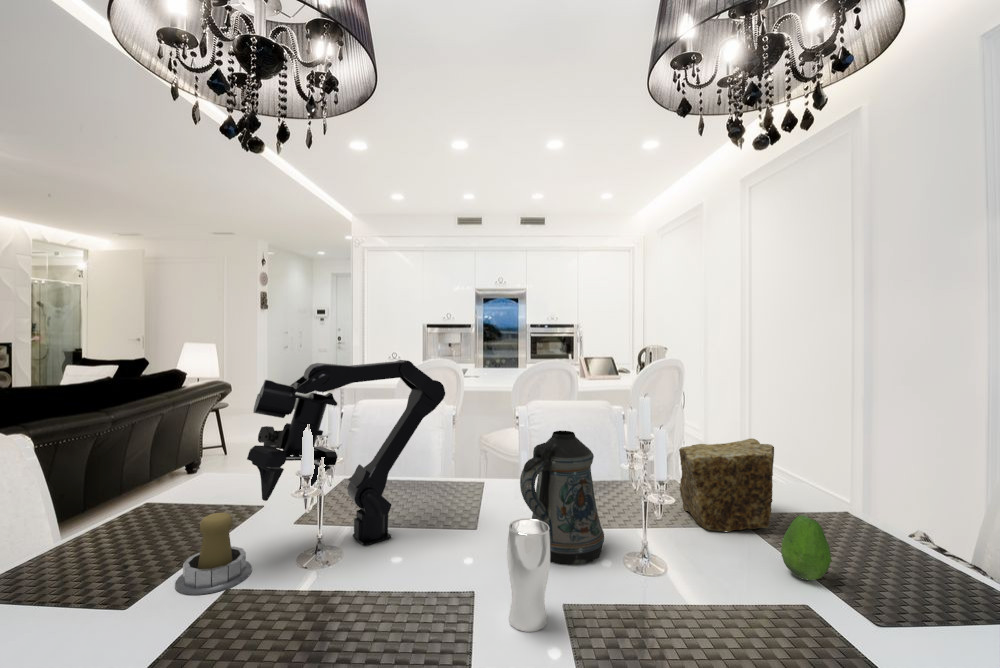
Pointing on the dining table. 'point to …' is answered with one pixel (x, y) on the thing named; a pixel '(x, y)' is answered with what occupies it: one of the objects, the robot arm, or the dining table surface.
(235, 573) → the duct collar
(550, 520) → the beer stein
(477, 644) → the dining table surface
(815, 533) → the avocado
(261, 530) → the dining table surface
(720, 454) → the decorative stone
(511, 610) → the beer glass
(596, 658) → the dining table surface
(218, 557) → the olive game pawn
